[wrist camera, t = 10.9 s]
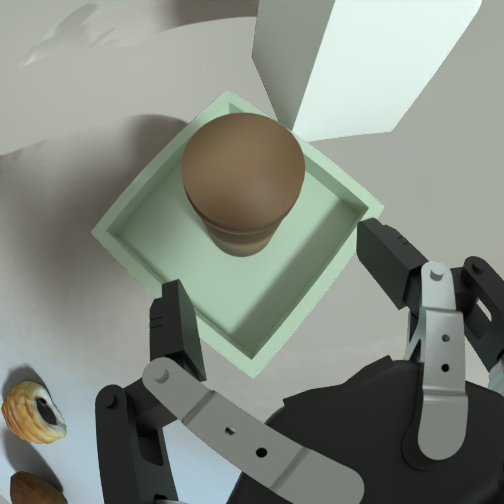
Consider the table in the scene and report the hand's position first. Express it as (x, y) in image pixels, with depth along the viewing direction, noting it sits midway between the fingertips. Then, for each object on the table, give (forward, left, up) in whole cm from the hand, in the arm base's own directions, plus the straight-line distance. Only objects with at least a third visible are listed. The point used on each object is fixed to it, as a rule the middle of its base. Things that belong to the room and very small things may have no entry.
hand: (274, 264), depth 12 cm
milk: (-7, +19, -11) cm, 22 cm away
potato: (-2, -37, -10) cm, 38 cm away
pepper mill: (-4, +2, -9) cm, 10 cm away
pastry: (-8, -26, -11) cm, 30 cm away
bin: (-4, +2, -10) cm, 11 cm away
